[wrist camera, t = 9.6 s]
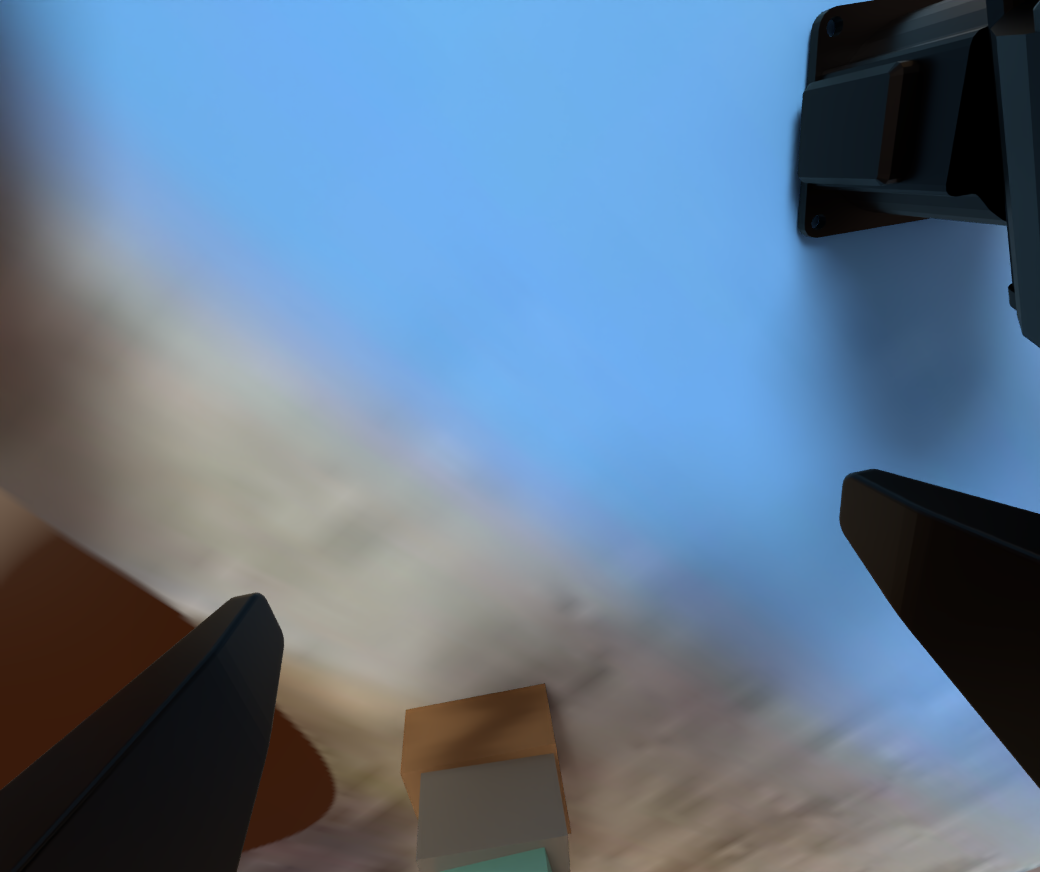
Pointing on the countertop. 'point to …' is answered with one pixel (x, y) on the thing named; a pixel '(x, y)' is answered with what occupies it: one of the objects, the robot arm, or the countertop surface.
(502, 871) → the teal block
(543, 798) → the charcoal block
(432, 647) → the countertop surface
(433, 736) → the walnut base block
